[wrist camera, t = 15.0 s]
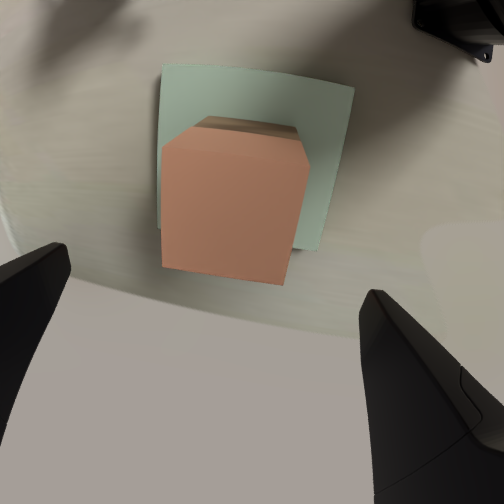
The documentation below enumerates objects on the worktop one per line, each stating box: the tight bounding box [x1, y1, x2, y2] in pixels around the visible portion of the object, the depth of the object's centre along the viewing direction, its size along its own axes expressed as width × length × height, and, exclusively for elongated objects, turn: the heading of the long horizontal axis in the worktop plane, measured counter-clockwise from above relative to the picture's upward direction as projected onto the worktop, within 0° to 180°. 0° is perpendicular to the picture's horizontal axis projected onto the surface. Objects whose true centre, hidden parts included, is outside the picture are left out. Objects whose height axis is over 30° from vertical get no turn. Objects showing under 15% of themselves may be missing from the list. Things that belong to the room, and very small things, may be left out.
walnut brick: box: [192, 116, 301, 141], centre depth 16 cm, size 5×5×4 cm
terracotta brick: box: [161, 126, 310, 286], centre depth 13 cm, size 5×5×4 cm
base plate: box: [157, 64, 355, 251], centre depth 19 cm, size 11×11×2 cm
